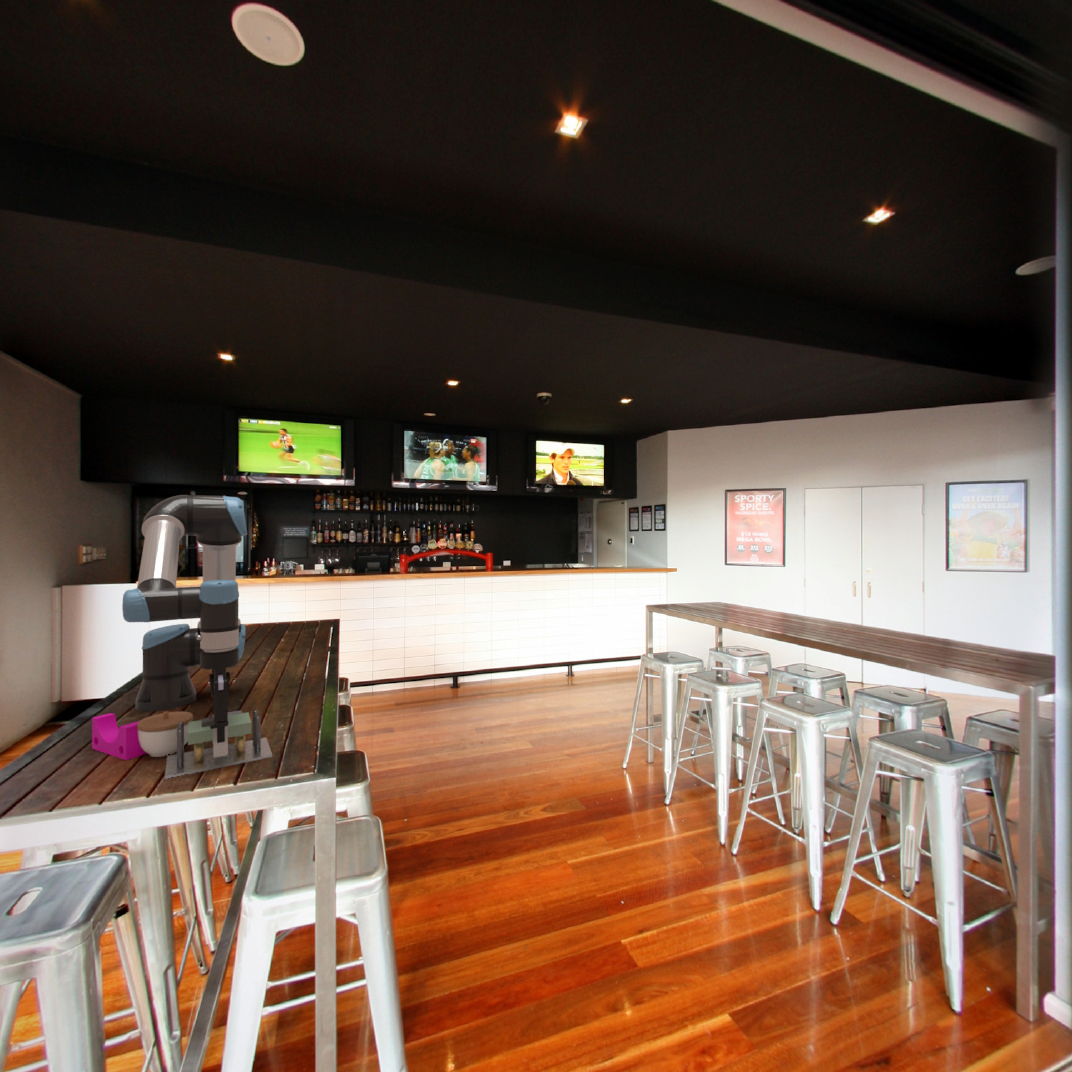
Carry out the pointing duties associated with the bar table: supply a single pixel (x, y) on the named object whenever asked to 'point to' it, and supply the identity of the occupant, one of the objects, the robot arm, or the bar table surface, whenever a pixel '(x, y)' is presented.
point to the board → (203, 733)
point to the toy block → (115, 737)
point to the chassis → (205, 761)
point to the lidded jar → (162, 732)
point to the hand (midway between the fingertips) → (219, 748)
